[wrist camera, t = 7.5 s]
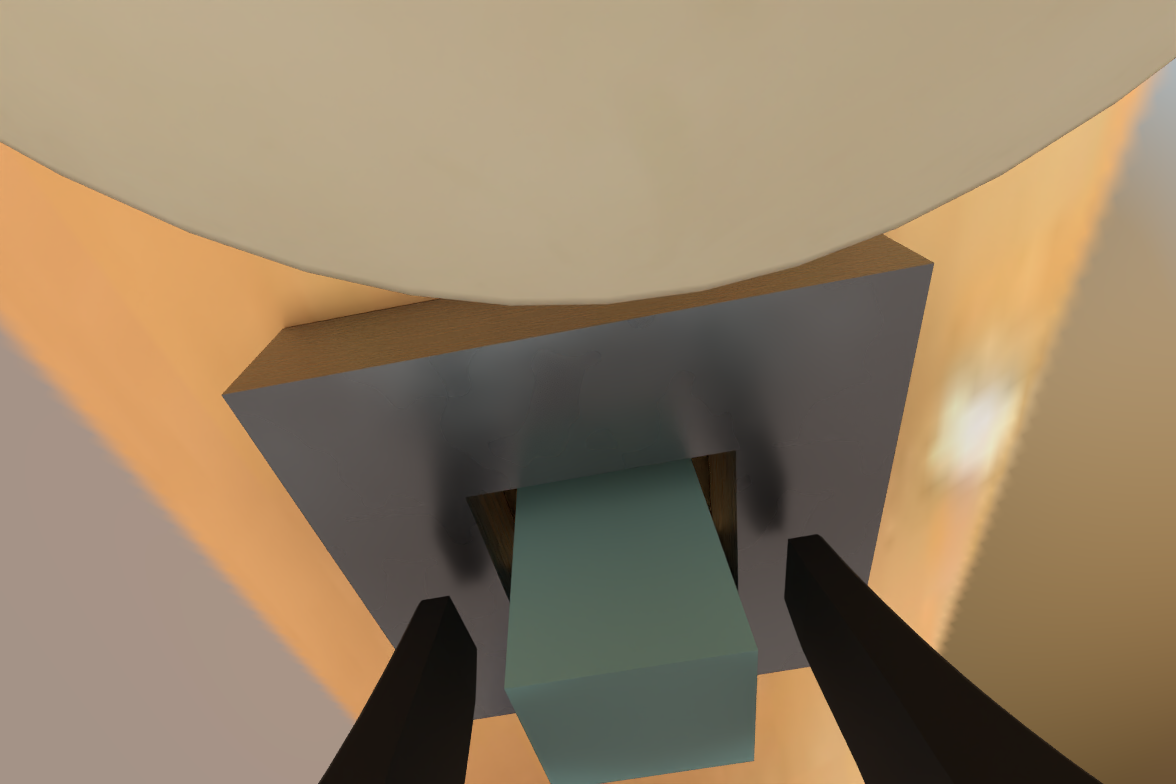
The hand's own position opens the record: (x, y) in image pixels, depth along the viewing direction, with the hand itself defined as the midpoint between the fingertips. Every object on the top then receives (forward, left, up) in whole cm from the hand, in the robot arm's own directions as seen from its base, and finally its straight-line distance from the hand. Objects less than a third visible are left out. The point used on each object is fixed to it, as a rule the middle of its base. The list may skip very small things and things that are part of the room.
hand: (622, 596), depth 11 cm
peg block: (0, 0, -3) cm, 4 cm away
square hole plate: (0, 0, -3) cm, 3 cm away
